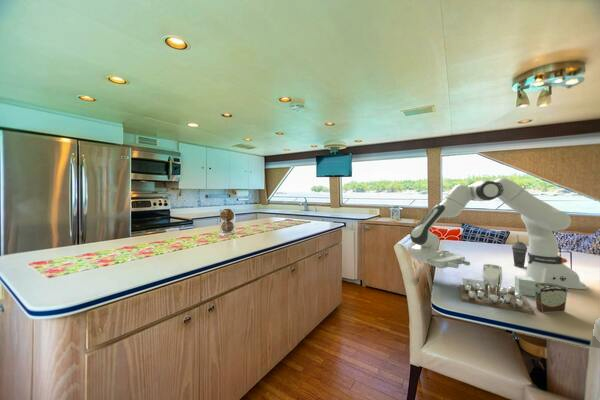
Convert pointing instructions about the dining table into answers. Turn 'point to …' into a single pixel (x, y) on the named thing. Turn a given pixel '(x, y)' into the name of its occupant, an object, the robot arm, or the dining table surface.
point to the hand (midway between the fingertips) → (463, 265)
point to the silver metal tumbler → (492, 280)
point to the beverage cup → (519, 253)
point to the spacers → (494, 297)
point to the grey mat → (473, 282)
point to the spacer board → (500, 305)
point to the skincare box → (524, 285)
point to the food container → (550, 297)
